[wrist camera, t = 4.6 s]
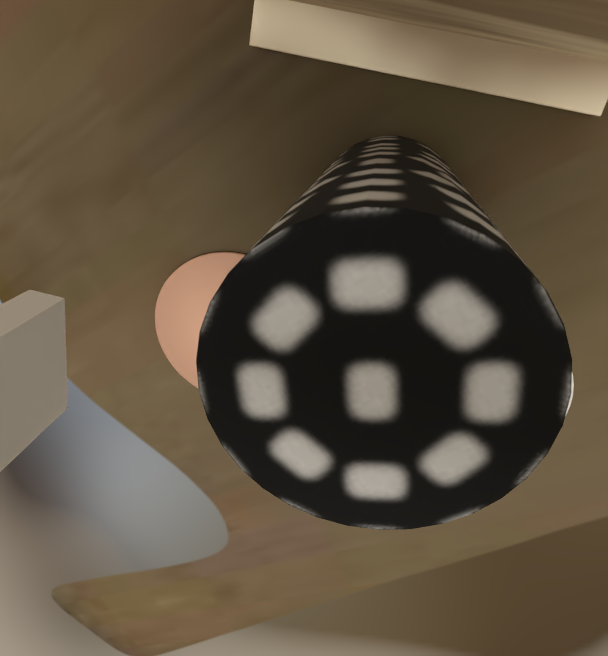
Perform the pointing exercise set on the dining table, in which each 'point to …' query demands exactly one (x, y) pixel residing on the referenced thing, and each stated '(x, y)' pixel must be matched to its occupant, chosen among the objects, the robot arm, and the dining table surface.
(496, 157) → the dining table surface
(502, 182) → the dining table surface
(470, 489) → the spotted tube
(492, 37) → the birch shelf
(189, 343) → the pink round disc
